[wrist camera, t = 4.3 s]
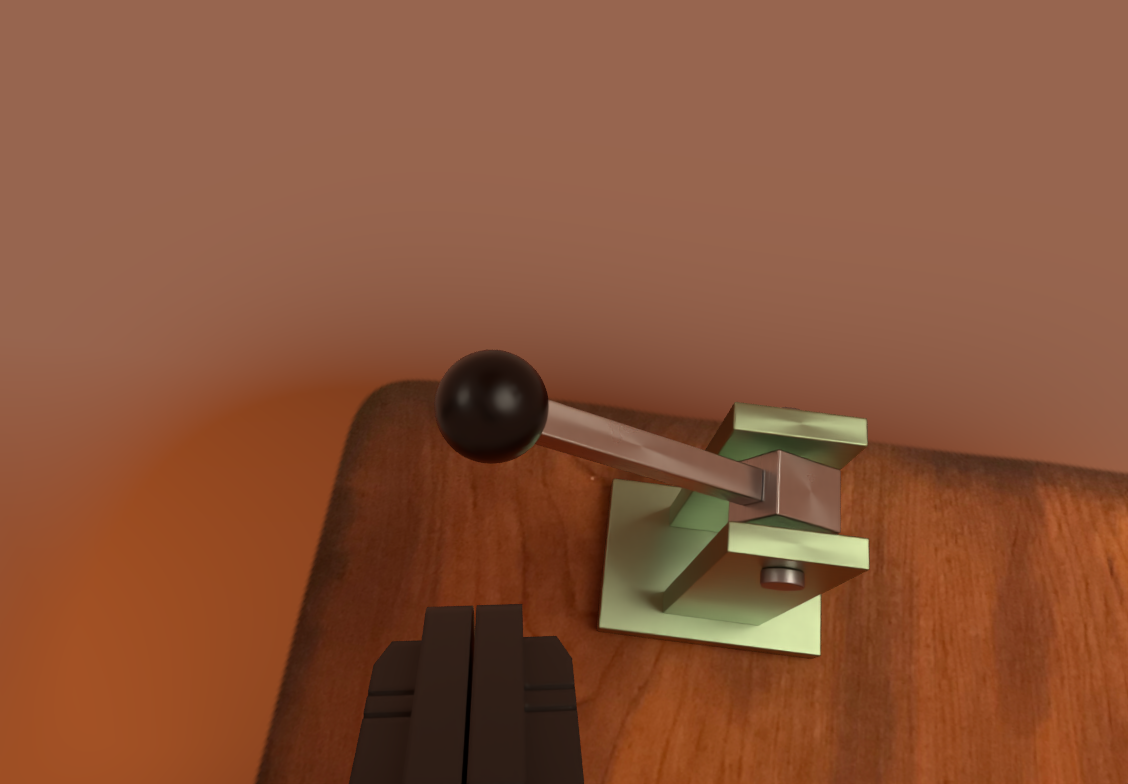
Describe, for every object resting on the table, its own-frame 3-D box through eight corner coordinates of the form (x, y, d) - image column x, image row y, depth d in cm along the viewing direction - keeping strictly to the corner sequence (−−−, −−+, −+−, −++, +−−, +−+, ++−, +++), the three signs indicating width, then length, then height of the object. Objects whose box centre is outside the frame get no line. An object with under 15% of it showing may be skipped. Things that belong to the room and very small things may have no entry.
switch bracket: (595, 631, 40) (633, 573, 27) (611, 484, 43) (652, 362, 29) (813, 659, 40) (963, 614, 27) (814, 510, 43) (951, 400, 29)
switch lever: (408, 458, 25) (453, 431, 22) (428, 355, 26) (473, 318, 23) (780, 558, 31) (851, 547, 28) (783, 471, 32) (850, 453, 29)
